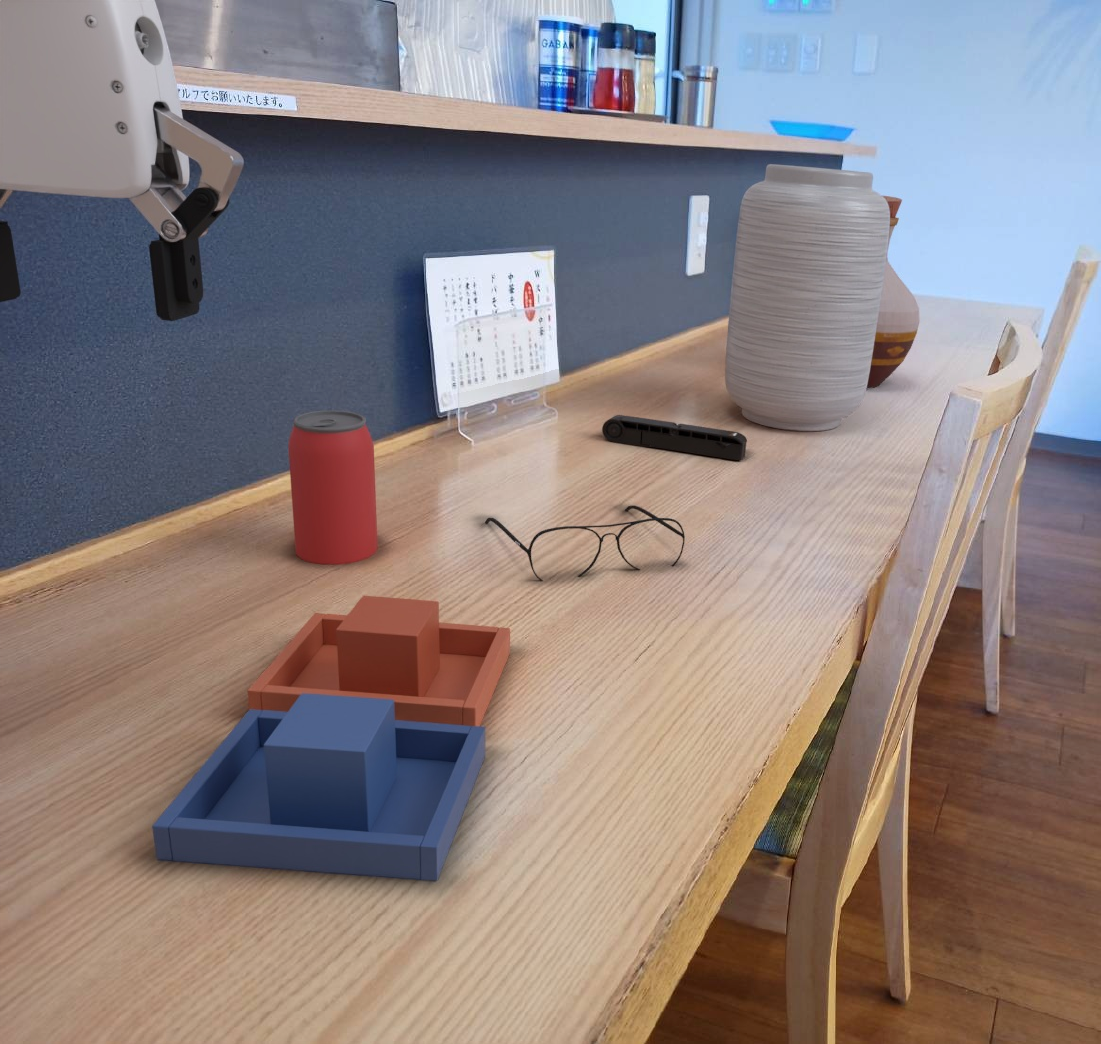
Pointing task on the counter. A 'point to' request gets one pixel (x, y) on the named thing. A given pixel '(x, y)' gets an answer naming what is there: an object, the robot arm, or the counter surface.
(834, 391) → the vase
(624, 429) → the tablet stand
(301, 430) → the beer can
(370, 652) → the terracotta block
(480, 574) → the counter surface
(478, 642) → the terracotta tray
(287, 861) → the blue tray
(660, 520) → the glasses
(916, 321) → the jug
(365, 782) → the blue block
